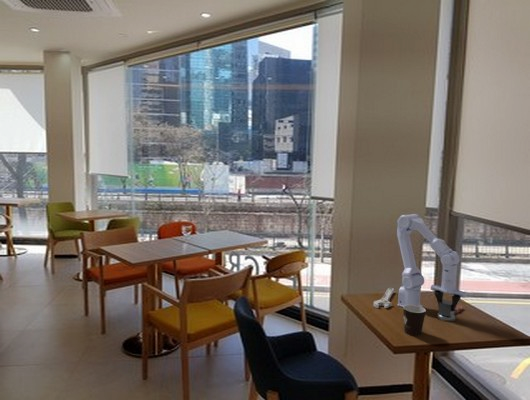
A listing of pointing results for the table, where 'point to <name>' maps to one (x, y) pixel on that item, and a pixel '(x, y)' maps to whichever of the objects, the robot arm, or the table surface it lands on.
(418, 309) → the coffee mug
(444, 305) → the socket
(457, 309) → the ratchet
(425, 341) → the table surface
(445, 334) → the table surface
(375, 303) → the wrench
